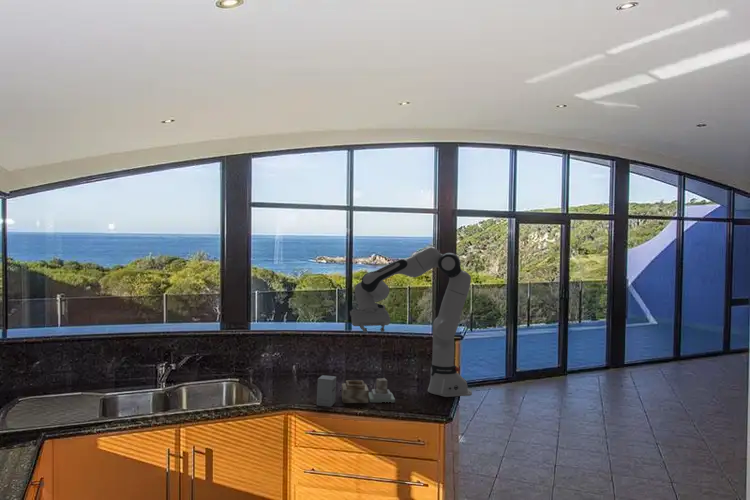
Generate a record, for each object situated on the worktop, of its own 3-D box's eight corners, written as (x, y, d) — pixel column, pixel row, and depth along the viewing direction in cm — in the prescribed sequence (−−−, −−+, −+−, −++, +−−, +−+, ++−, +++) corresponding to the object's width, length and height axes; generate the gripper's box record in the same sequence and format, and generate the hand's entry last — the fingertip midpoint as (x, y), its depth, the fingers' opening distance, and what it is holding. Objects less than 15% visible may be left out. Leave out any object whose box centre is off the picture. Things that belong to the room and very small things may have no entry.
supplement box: (331, 407, 277) (332, 380, 276) (316, 405, 278) (317, 378, 278) (335, 402, 284) (336, 376, 283) (320, 401, 285) (321, 374, 285)
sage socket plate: (391, 395, 300) (391, 388, 300) (395, 402, 288) (395, 395, 288) (367, 395, 298) (367, 388, 298) (370, 402, 287) (370, 395, 286)
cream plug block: (383, 394, 296) (384, 378, 295) (386, 396, 292) (387, 380, 292) (375, 394, 294) (376, 378, 294) (379, 397, 291) (379, 380, 290)
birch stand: (365, 395, 297) (366, 379, 297) (368, 403, 285) (368, 386, 285) (341, 395, 296) (342, 379, 296) (342, 402, 284) (343, 386, 284)
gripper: (350, 306, 306) (356, 328, 297) (387, 305, 314) (394, 327, 305) (347, 313, 310) (353, 335, 302) (384, 312, 318) (390, 334, 309)
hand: (374, 331), depth 303 cm, fingers open, 8 cm apart
